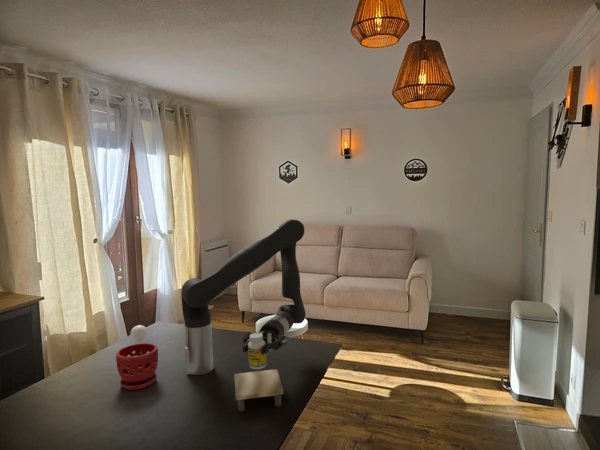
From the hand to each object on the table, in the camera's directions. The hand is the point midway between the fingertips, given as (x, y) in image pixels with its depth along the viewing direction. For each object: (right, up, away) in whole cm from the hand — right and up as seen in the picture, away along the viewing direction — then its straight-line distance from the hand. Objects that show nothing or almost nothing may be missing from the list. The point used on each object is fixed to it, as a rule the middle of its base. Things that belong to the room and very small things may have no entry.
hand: (253, 350), depth 120 cm
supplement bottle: (+1, -6, +3) cm, 7 cm away
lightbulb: (-51, -14, +41) cm, 67 cm away
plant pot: (-41, -16, +16) cm, 46 cm away
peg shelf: (+1, -16, +4) cm, 17 cm away
